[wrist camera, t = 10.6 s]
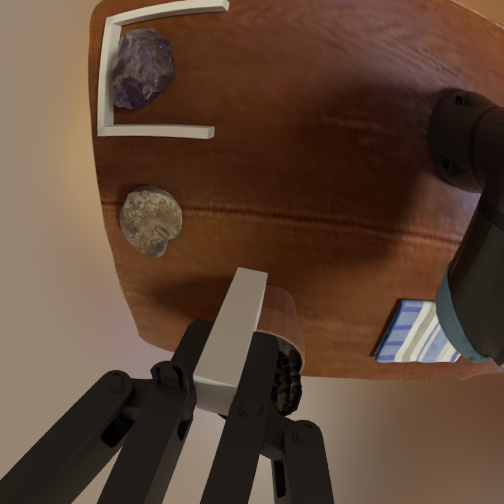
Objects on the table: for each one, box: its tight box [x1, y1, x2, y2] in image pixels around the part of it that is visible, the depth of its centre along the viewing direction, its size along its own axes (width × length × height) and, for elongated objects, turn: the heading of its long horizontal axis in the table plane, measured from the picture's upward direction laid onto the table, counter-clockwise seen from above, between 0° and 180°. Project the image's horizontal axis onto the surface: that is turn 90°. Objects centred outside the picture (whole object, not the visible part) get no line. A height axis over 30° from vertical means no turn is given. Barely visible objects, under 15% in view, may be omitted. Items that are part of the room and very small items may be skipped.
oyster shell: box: [119, 185, 182, 258], centre depth 43 cm, size 11×15×6 cm
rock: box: [111, 28, 175, 109], centre depth 28 cm, size 12×9×10 cm
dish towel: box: [373, 299, 461, 363], centre depth 45 cm, size 17×24×3 cm
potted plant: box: [217, 285, 305, 420], centre depth 39 cm, size 14×14×25 cm
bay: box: [98, 0, 229, 139], centre depth 30 cm, size 20×21×2 cm
